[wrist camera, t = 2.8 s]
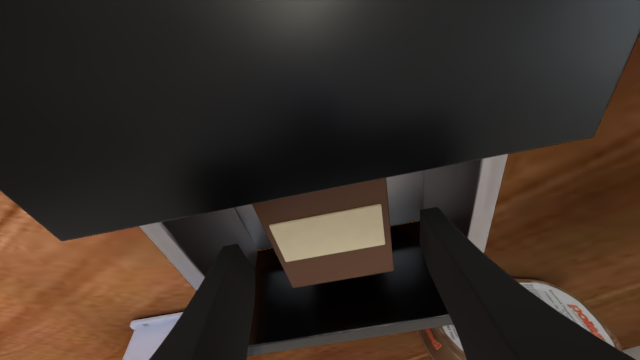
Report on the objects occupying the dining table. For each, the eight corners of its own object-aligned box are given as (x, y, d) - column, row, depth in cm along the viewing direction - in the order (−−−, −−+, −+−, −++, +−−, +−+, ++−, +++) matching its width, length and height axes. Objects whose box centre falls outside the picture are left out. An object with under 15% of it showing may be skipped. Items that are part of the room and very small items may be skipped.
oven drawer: (436, 264, 23) (473, 352, 18) (269, 293, 24) (262, 382, 19) (455, 9, 12) (567, 59, 7) (144, 83, 13) (51, 171, 8)
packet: (293, 227, 18) (292, 290, 15) (253, 125, 13) (239, 184, 10) (376, 211, 17) (394, 273, 14) (363, 101, 13) (385, 154, 10)
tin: (404, 291, 27) (438, 404, 20) (415, 270, 25) (457, 388, 18) (552, 292, 29) (628, 396, 22) (573, 273, 27) (663, 381, 20)
